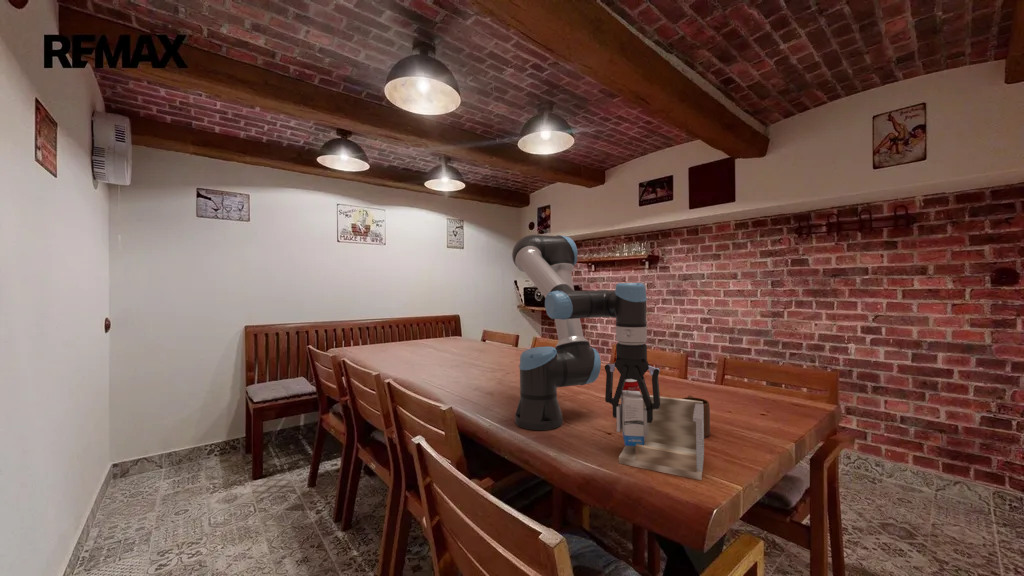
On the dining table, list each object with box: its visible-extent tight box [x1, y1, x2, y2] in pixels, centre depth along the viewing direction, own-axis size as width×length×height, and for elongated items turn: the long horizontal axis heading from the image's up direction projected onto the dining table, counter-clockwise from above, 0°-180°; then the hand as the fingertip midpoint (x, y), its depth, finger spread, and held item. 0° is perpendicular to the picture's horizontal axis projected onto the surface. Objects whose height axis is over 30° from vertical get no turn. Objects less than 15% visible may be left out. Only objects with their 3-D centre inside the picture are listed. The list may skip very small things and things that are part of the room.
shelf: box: [618, 393, 703, 481], centre depth 94 cm, size 18×14×14 cm
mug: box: [681, 395, 711, 438], centre depth 112 cm, size 12×8×9 cm, turn 166°
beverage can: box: [620, 379, 641, 404], centre depth 115 cm, size 6×6×15 cm
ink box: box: [621, 390, 644, 447], centre depth 97 cm, size 9×5×12 cm, turn 168°
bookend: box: [693, 403, 705, 473], centre depth 90 cm, size 2×12×12 cm, turn 152°
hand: (632, 432), depth 97 cm, fingers closed on ink box, 6 cm apart
